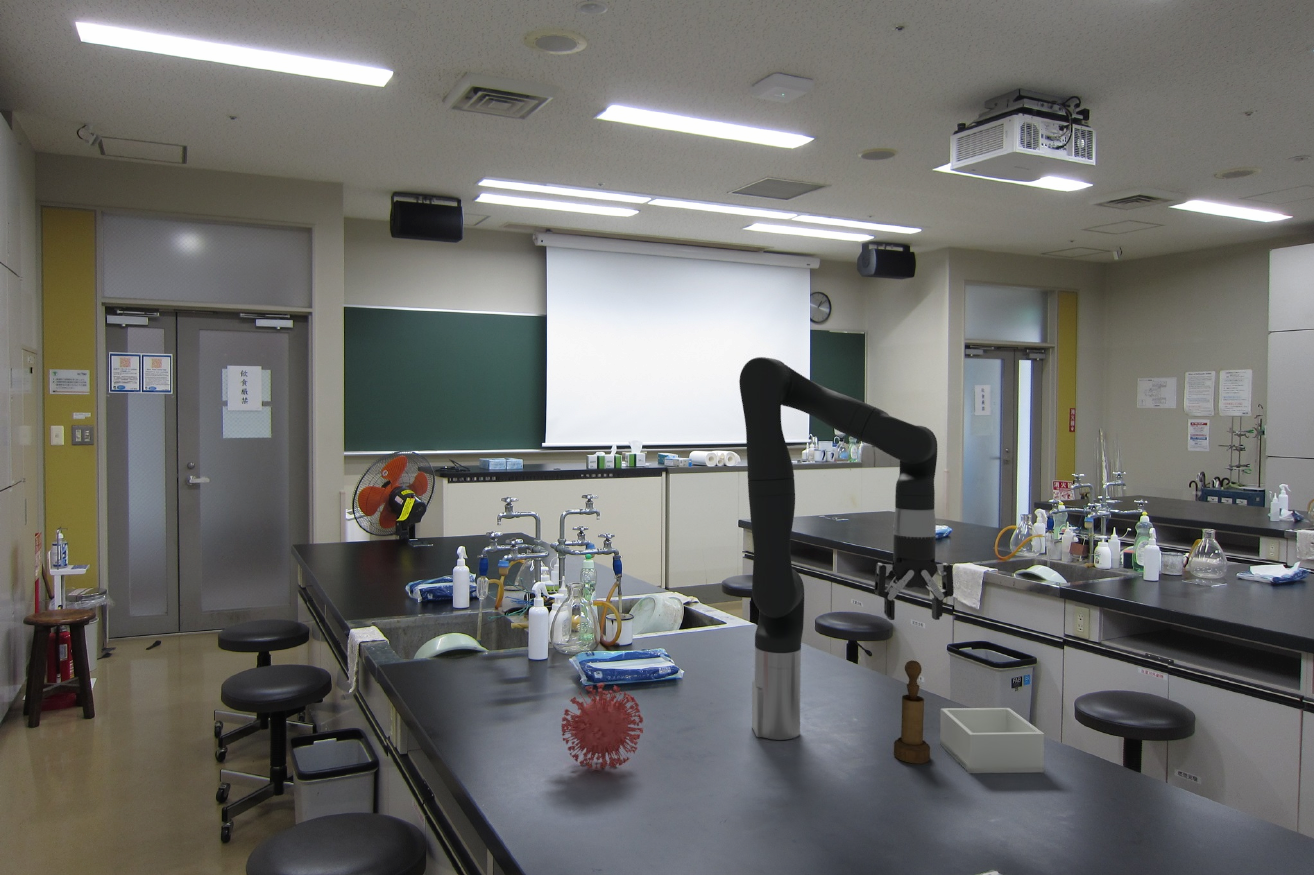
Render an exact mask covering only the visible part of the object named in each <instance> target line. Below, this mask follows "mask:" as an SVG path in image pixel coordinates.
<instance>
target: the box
mask: <svg viewBox="0 0 1314 875" xmlns="http://www.w3.org/2000/svg"><path fill="white" fill-rule="evenodd" d="M939 726H940V727H939V729H940V730H939V731H940V732H939V733H940V736H939V737H940V738H939V740H940V741H939V744H940V745H941V747H942V748H943V749H945V751H947V753H948V754H949V755H950V756H951V757H952V758H954V760H955V761H957V763H958V764H959V763H960V764H959V766H961V765H962V766H961V767H964V768H965V769H964V768H963V769H964V770H965V771H966V770H967V771H966V772H967V773H968V774H1013V773H1014V774H1015V773H1018V774H1020V773H1022V774H1023V773H1025V774H1026V773H1032V774H1033V773H1044V761H1045V760H1044V756H1045V755H1044V754H1045V733H1044V732H1042V731H1041V730H1040V729H1038V728H1037V727H1036V726H1034V725H1033V723H1032V724H1031V723H1030V722H1029V721H1028V720H1026V719H1025V718H1023V717H1022V716H1021V715H1019V714H1018V713H1016V712H1015V711H1014V710H1012V709H1011V708H1010V707H977V708H976V707H974V708H973V707H972V708H971V707H968V708H967V707H965V708H964V707H963V708H962V707H961V708H960V707H959V708H958V707H957V708H954V707H952V708H950V707H949V708H940V725H939Z"/></svg>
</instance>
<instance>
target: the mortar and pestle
mask: <svg viewBox="0 0 1314 875" xmlns="http://www.w3.org/2000/svg"><path fill="white" fill-rule="evenodd" d="M904 671H905V674H906V675H907V677H908V683H907V684H906V690H907V693H908V694H903V695H902V696H901V726H900V727H901V729H900V730H901V731H900V737H898V738H897V739H896V740H895V741H894V742H893V756H894V757H895V758H896V759H898V760H900V761H902V762H905V763H909V764H910V763H911V764H923V763H927V762H929V761H930V759H931V758H930V757H931V747H930V744H929V743H927V741H926V740H924V714H925V713H924V710H925V699H924V697H922V696H920V695H919V690H920V684H918V678H919V677H920V675H921V673H922V665H921V663H920V662H919V661H917V660H908V661H907V662H906V664H905V665H904Z"/></svg>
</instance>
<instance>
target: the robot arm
mask: <svg viewBox="0 0 1314 875" xmlns="http://www.w3.org/2000/svg"><path fill="white" fill-rule="evenodd" d="M738 382H739V391H740V399H741V404H742V409H743V417H744V423H745V424H744V425H745V433H746V434H745V436H746V438H745V439H746V463H747V465H746V466H747V467H746V468H747V490H748V492H747V493H748V502H749V513H750V526H751V534H752V543H753V560H752V561H753V564H752V581H751V583H752V584H751V595H752V600H753V602H754V604H755V607H756V608H757V609H758V620H757V626H756V629H755V633H754V680H752V687H751V689H752V690H751V691H752V692H751V696H752V698H751V699H752V700H751V727H752V729H753V732H754V734H755V736H756V738H764V739H769V740H776V741H777V740H778V741H783V740H790V739H792V740H793V739H795V738H797V737H799V736H800V733H801V686H802V684H801V682H802V680H801V679H802V678H801V677H802V675H801V674H802V671H801V669H802V668H801V666H802V637H803V633H804V632H803V631H804V624H805V623H804V621H805V620H804V618H805V585H804V581H803V579H802V577H801V575H800V574H799V573H798V572H797V570H795V569H794V568H793V565H792V556H791V537H792V530H793V524H794V517H795V509H796V487H795V486H796V484H795V473H794V466H793V462H792V456H791V455H790V451H789V448H788V446H787V441H786V440H785V435H784V433H783V427H782V426H783V425H782V406H783V407H788V408H791V409H795V410H798V411H801V412H803V413H805V414H808V415H809V416H812V417H813V418H815V419H817V420H819V421H820V422H822V423H824V424H825V425H827V426H828V427H830V428H832V429H834V430H836V431H838V432H840V433H842V434H844V435H846V436H848V437H850V438H853V439H856V440H858V441H859V442H862V443H864V444H867V445H869V446H873V447H874V448H876V449H878V450H880V451H881V452H884V453H885V454H887V455H889V456H891V457H893V458H895V459H897V460H899V477H898V478H897V481H896V484H895V496H894V497H895V499H894V500H895V502H894V506H895V509H894V517H893V526H892V531H893V541H892V542H893V551H892V553H893V554H892V555H893V561H892V563H891V564H884V563H882V562H877V563H876V564H875V574H874V586H873V587H874V590H873V592H874V594H876V595H877V596H878V597H881V598H883V599H884V600H883V601H884V605H883V606H884V607H883V608H884V609H883V610H884V611H883V612H884V616H886V617H887V619H889V620H890V621H895V616H896V615H895V612H896V611H895V610H896V609H895V608H896V604H895V603H896V601H895V600H894V599H895V597H896V596H897V595H898V594H899V592H901V591H902V590H903V589H904V587H906V588H907V589H911V588H914V587H916V588H920V589H921V588H925V587H926V589H928V591H929V592H930V593H931V595H932V596H933V597H932V598H931V618H932V619H933V620H935V621H940V619H941V617H943V613H944V612H943V610H944V608H943V607H944V606H943V605H944V604H943V603H944V600H945V599H946V598H948V597H950V598H951V597H953V596H954V595H955V594H954V591H955V590H954V572H953V565H951V564H950V563H949V562H942V563H940V564H937V563H936V541H937V540H936V536H937V535H936V534H937V533H936V529H937V525H936V524H937V523H936V514H935V504H936V503H935V501H936V500H935V499H936V498H935V495H936V494H935V477H936V470H937V460H938V441H937V437H936V435H935V433H934V431H932V430H931V429H930V428H928V427H926V426H924V425H915V424H912V423H909V422H907V421H904V420H903V419H902V420H901V419H899V418H897V417H894V416H892V415H890V414H889V413H888V412H886V411H884V410H883V409H880V408H878V407H876V406H874V405H871V404H869V403H866V402H864V401H862V400H859V399H857V398H854V397H851V396H849V395H845V394H842V393H839V392H837V391H835V390H832V389H829V388H827V387H825V386H823V385H820V384H818V383H816V382H815V381H813V380H810V379H809V378H807V377H806V376H804V375H802V374H801V373H799V372H797V371H796V370H795V369H792V368H791V367H789V366H788V365H787V364H785V363H784V362H783V361H781V360H779V359H776V358H772V357H764V356H757V357H754V358H751V359H750V360H748V361H747V362H746V363H745V364H744V365H743V368H742V369H741V372H740V374H739V380H738ZM890 572H892V574H893V575H894V577H893V579H892V580H891V581H890V583H889V585H888V587H887V588H886V580H887V579H886V578H887V576H889V575H890ZM937 572H938V574H939V575H941V589H940V587H939V586H938V585H937V582H935V581H934V579H933V577H934V576H935V575H936V573H937Z"/></svg>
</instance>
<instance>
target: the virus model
mask: <svg viewBox="0 0 1314 875" xmlns="http://www.w3.org/2000/svg"><path fill="white" fill-rule="evenodd" d="M596 686H597V688H598V689H593V688H594V685H588V686H586V687H585V690H587V691H588V692H589V694H587V695H586V696H587V697H588V698H589V699H590V702H587V701H586V699H585V697H583V695H582V692H581V691H580V692H578V694H579V695H580V696H581V698H582V699H583V701H581V702H580V701H579V700H577V698H576V696H574V697H573V698H571V699H570V700H569V702H571V704H572V705H576V706H577V711H580V712H579V714H577V713H575V712H573V711H572V710H571V711H570V709H567V708H565V709H564V711H563V715H564V716H563V717H562V718H561V722H562V723H561V726H560V727H561V735H562V741H563V742H565V744H566V745H568V743H569V742H571V745H570V746H568V747H567V751H569V755H570V756H571V757H572V758H573V760H574V761H575V762H576V763H578V764H580V766H584V765H585V766H587V769H594V770H595V771H596V770H598V771H599V768H598V763H596V765H595V766H593V761H594V760H595V759H596V761H600V760H601V761H602V762H601V763H600V765H599V767H600V768H601V769H605V768H606V767H607V765H608V767H609V768H616V767H617V766H618V767H621V766H622V765H623V764H625V763H626V762H628V761H629V760H630V757H628V756H627V755H625V757H623V755H622V753H621V751H622V752H623V750H624V751H625V752H626V754H628V753H630V754H631V753H633V754H636V751H637V750H638V747H637V745H638V743H639V742H638V740H640V737H641V734H644V728H643V727H640V724H643V723H644V717H643V716H642V715H641V714H640V713H641V711H640V705H639V703H638V701H637V700H636V699H635V698H634V696H633V695H630V693H626V692H625V691H624V692H622V691H621V687H618V686H617V685H613V686H614V687H613V688H612V689H613V691H612V690H603V688H604V686H606V683H605V682H600V683H598V684H596ZM596 690H597V691H598V692H597V691H596ZM596 692H597V696H596ZM617 694H618V697H617ZM608 695H609V696H608ZM621 695H622V698H620V696H621ZM619 698H620V699H619ZM584 703H585V704H586V705H585V704H584ZM628 703H630V706H629V704H628ZM632 703H633V704H632ZM627 704H628V705H627ZM628 706H629V707H628ZM568 716H570V718H568ZM636 717H637V719H636ZM563 722H564V723H563ZM632 725H633V726H634V727H633V726H632ZM636 726H637V727H636ZM632 732H634V733H632ZM636 732H637V733H636ZM568 734H570V736H568V737H564V736H565V735H568ZM621 747H622V748H621ZM622 749H623V750H622ZM584 750H585V751H584ZM620 750H621V751H620ZM571 751H572V752H571ZM583 751H584V752H583ZM574 752H575V753H574ZM625 752H623V754H625ZM572 753H574V754H573V755H572ZM580 755H583V757H582V759H581V760H580V761H579V762H578V759H579V757H580ZM607 756H608V757H607ZM615 756H616V757H615ZM621 757H622V758H621ZM607 758H608V759H607ZM608 761H609V762H608Z"/></svg>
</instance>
